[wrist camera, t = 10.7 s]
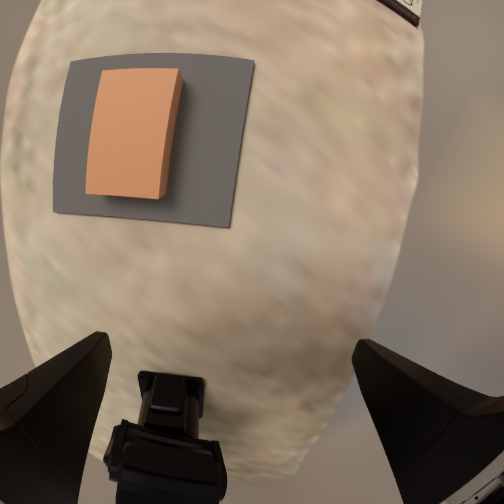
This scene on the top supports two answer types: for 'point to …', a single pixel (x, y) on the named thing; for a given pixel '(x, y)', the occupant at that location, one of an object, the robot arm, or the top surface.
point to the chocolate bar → (405, 9)
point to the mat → (183, 146)
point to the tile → (133, 132)
